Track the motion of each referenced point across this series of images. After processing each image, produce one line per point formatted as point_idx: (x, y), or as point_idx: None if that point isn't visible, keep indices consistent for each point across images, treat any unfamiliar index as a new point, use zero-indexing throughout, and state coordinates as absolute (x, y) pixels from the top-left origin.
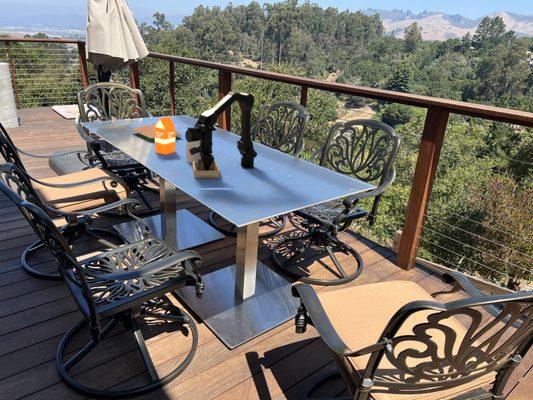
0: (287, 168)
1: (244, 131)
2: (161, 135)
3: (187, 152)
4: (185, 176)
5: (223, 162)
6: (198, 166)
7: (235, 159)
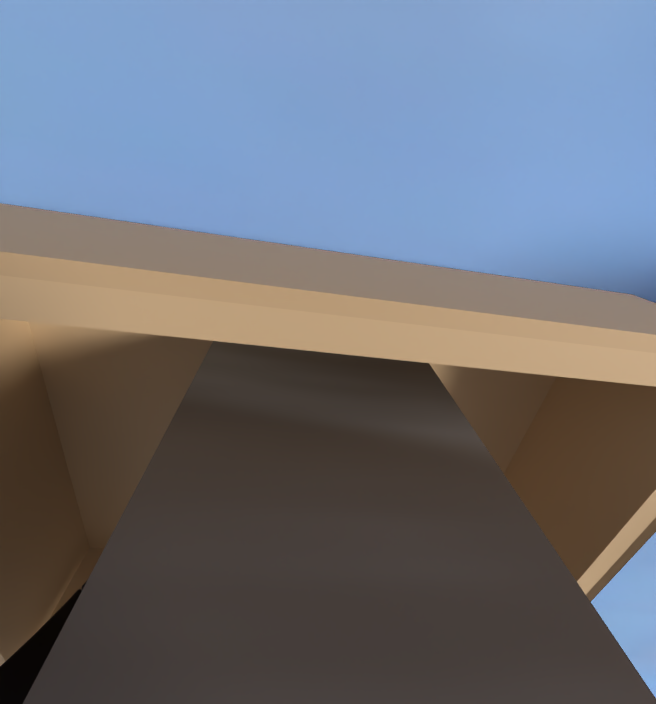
0: None
1: None
2: None
3: None
4: (222, 5)
5: (629, 609)
6: (161, 444)
7: (640, 668)
